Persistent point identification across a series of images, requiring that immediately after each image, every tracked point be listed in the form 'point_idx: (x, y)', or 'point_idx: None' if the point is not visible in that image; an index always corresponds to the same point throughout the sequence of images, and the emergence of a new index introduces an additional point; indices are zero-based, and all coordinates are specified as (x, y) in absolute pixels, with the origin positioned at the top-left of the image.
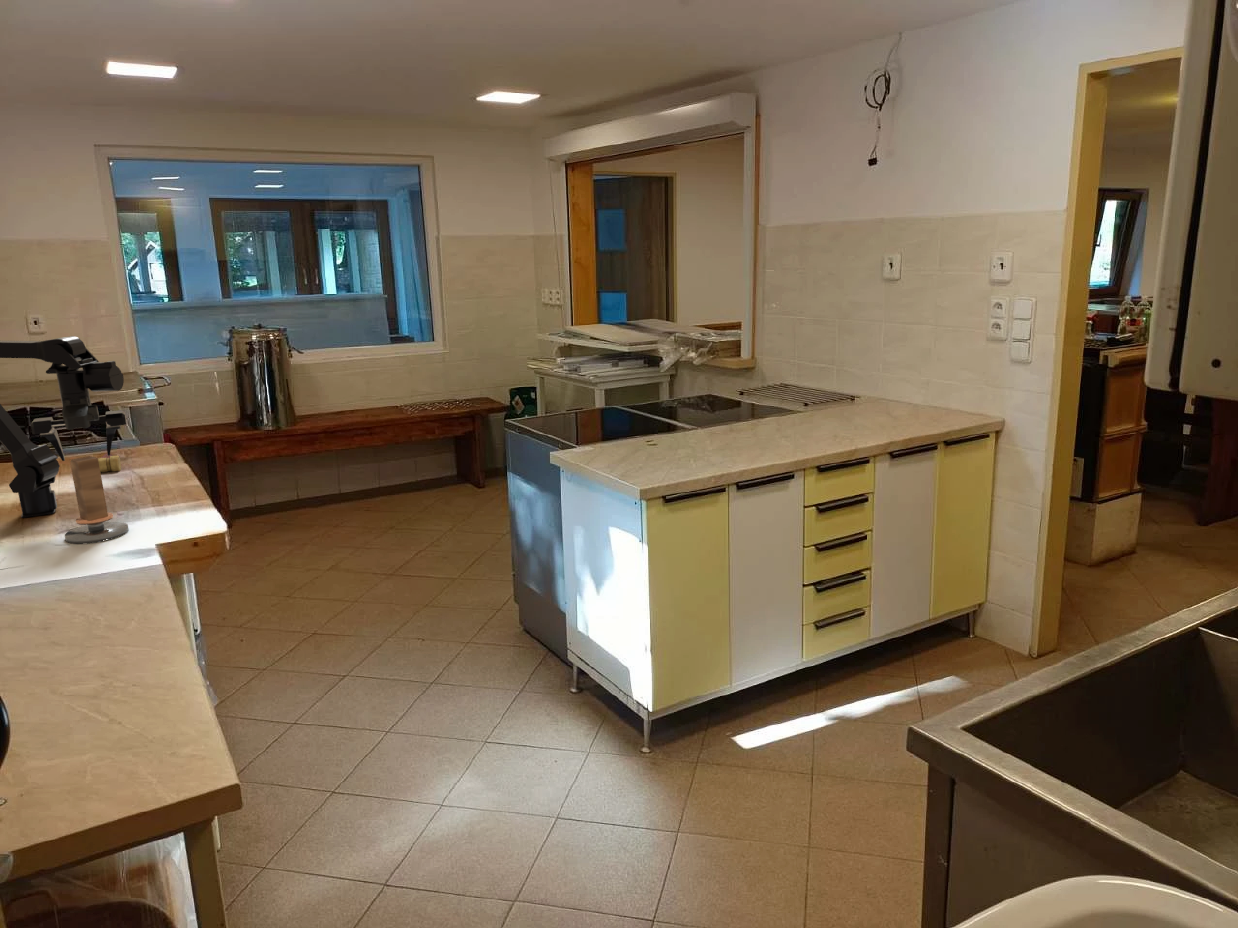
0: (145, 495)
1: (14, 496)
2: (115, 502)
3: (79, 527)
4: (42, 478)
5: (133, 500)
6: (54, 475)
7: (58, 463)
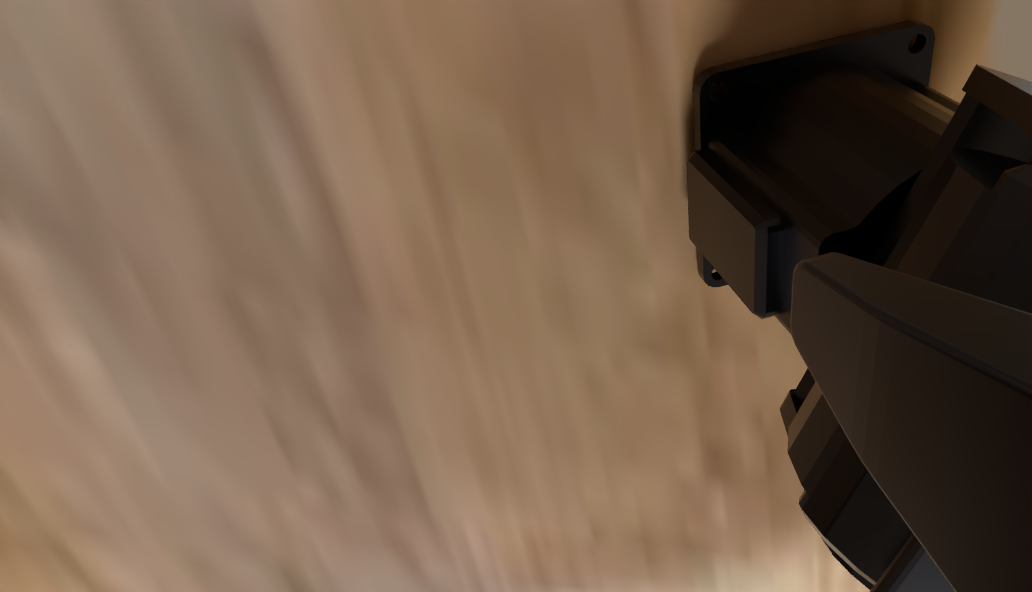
0: (22, 449)
1: None
2: (231, 298)
3: None
4: (963, 163)
5: (66, 321)
6: (813, 386)
7: (828, 529)
